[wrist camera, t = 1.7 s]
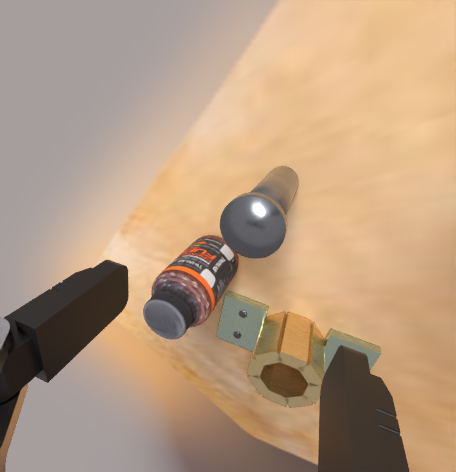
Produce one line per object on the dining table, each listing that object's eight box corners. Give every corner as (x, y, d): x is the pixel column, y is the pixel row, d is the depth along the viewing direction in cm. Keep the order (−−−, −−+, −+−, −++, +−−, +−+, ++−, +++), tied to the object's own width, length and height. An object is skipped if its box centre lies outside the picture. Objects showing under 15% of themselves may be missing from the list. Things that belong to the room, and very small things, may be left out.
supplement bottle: (232, 229, 29) (183, 288, 19) (245, 276, 31) (207, 351, 21) (185, 236, 32) (121, 291, 22) (200, 279, 33) (147, 348, 24)
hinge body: (228, 289, 33) (209, 322, 27) (380, 345, 29) (391, 396, 24) (218, 332, 36) (200, 368, 31) (353, 387, 32) (358, 439, 27)
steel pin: (267, 157, 25) (226, 188, 15) (308, 167, 24) (293, 207, 14) (258, 195, 27) (215, 246, 16) (296, 206, 26) (275, 266, 16)
